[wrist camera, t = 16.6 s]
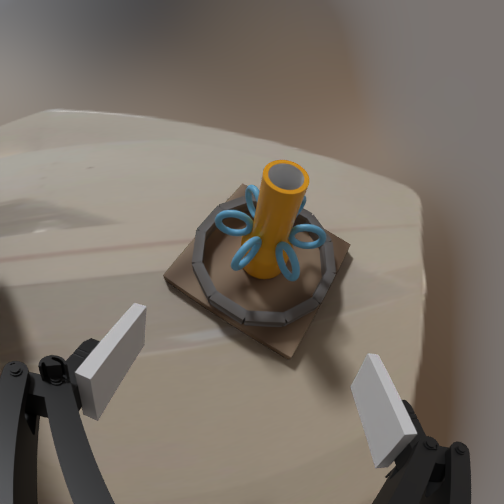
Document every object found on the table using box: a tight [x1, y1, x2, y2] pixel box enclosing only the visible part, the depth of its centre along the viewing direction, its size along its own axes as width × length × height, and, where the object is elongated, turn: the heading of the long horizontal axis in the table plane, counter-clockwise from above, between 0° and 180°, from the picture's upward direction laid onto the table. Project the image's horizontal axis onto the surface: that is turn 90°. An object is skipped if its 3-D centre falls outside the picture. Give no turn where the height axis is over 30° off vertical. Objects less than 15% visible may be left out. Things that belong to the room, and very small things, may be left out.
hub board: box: [163, 183, 350, 359], centre depth 37 cm, size 18×18×4 cm
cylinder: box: [215, 160, 326, 281], centre depth 31 cm, size 12×10×15 cm
